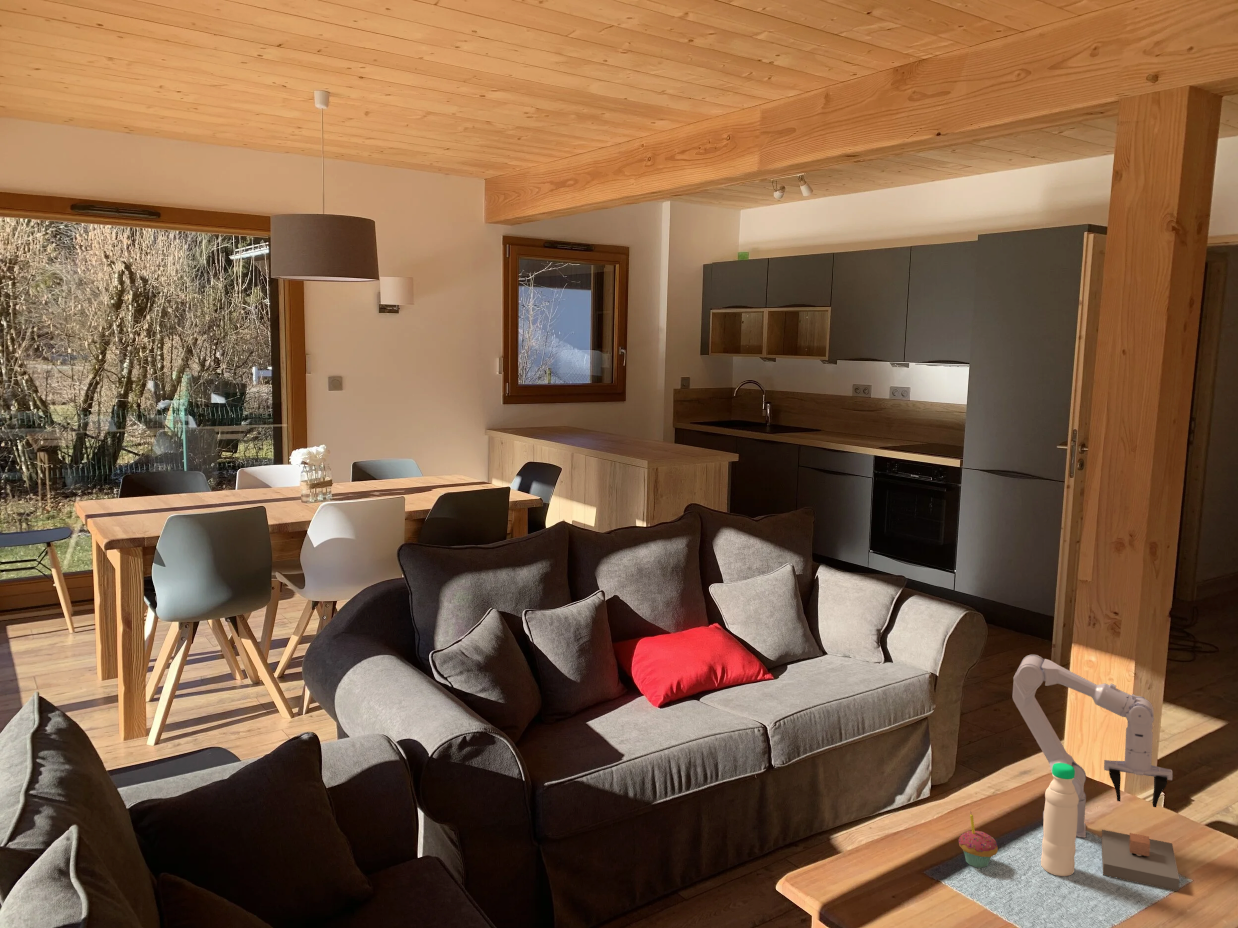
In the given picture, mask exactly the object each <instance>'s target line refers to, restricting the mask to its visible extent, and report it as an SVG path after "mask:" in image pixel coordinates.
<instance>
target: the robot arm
mask: <svg viewBox="0 0 1238 928" xmlns="http://www.w3.org/2000/svg"><path fill="white" fill-rule="evenodd" d="M1043 682H1045V684H1044V686H1047V687H1048V686H1053V685H1057V684H1058V685H1062V686H1064V687H1066V688H1069V689H1071V690H1074V691H1076V692H1077V693H1081V694H1083V695H1086V696H1088V697H1090V698H1092V700H1093V702H1094V704H1095V705H1096V706H1099V708H1102V709H1105V710H1107V711H1109V712H1111V713H1113V714H1115V715H1118V716H1120V717H1121V718H1126V720H1127V725H1126V726H1127V727H1125V728H1126V729H1125V743H1124V744H1125V745H1124V746H1125V749H1124V760H1107V759H1104V760H1103V769H1104V771H1108V773H1109V775H1108V776H1109V778H1110V780H1111V782H1112V784H1113V786H1114V790H1115V793H1116V801H1117V802H1121V779H1122V777H1121V773H1127V774H1134V775H1136V776H1148V777H1152V778H1153V793H1152V807H1153V808H1157V806H1158V805H1157V804H1158V802H1159V799H1160V797H1161V795H1162V792H1163V791H1164V790H1165V788H1166V787H1167V785H1168V781H1173V770H1172V769H1171V768H1165V767H1160V766H1156V765H1152V762H1153V761H1152V759H1153V757H1152V756H1153V737H1154V735H1153V734H1154V733H1153V726H1154V725H1153V723H1154V721H1155V717H1154V712H1155V711H1154V706H1153V704H1152V702H1150V700H1148V699H1146V698H1145V696H1140V695H1135V694H1134V693H1132V694H1130V693H1128V692H1125V691H1124V690H1121V689H1120V688H1117V685H1116V684H1113V683H1110V684H1108V683H1101V684H1096V683H1094V682H1093V681H1090V680H1088V679H1086V678H1085V677H1082V676H1080V675H1079V674H1077V673H1075V672H1073V671H1071V670H1069V669H1067V668H1065V667H1063V666H1061V665H1060V664H1057V663H1056V662H1054V661H1052V660H1050V659H1047V658H1043V657H1042V656H1039V655H1038V654H1029V655H1026V656H1025V657H1023V659H1022V660H1021V661H1020V664H1019V666H1018V668H1017V670H1016V671H1015V674H1014V676H1013V685H1012V701H1013V702H1014V704H1015V706H1016V708H1017V709H1018V711H1019V713H1020V716H1022V719H1023V720H1024V722H1025V724H1026V725H1027V727H1028V729H1029V730H1030V732H1031V734H1032V736H1033V737H1034V739H1035V740H1036V743H1037V745H1038V746H1039V748H1040V749H1041V751H1042V753H1043V755H1044V757H1045V758H1046V760H1047V762H1048V764H1049V767H1050V771H1051V773H1052V767H1053V765H1054V764H1055V763H1065V764H1068V765H1071V766H1072V767H1073V768H1074V769H1075V776H1074V779H1073V780H1072V783H1073V785H1074V787H1075V790H1076V792H1077V795H1078V798H1079V802H1078V805H1077V809H1078V817H1077V832H1076V838H1077V837H1078V838H1084V839H1085V838H1086V837H1087V836H1086V835H1087V834H1086V833H1087V832H1086V830H1087V829H1086V828H1087V827H1086V822H1085V820H1086V817H1085V815H1086V814H1085V813H1086V805H1087V804H1086V803H1087V802H1086V801H1087V794H1086V793H1085V791H1084V787H1085V786H1084V785H1085V783H1086V780H1087V774H1086V771H1085V770H1084V768H1083V767H1082V766H1081V765H1080V764H1078V763H1077V762H1076V761H1075V760H1074V758H1073V756H1072V755H1070V754H1069V752H1067V751H1066V748H1065V746H1063V744H1062V742H1061V740H1060V739H1059V736H1058V735H1057V733H1056V731H1055V729H1054V728H1053V726H1052V724H1051V723H1050V721H1049V719H1048V717H1047V716H1046V714H1045V712H1044V711H1043V708H1042V707H1041V706H1040V703H1039V702H1038V700H1037V699H1036V696H1035V695H1036V692H1037V691H1038V690H1037V689H1038V688H1040V686H1042V684H1043ZM1044 800H1045V801H1046V798H1045V799H1044ZM1045 801H1044V802H1045ZM1042 819H1043V820H1044V810H1043V811H1042Z"/></svg>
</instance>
